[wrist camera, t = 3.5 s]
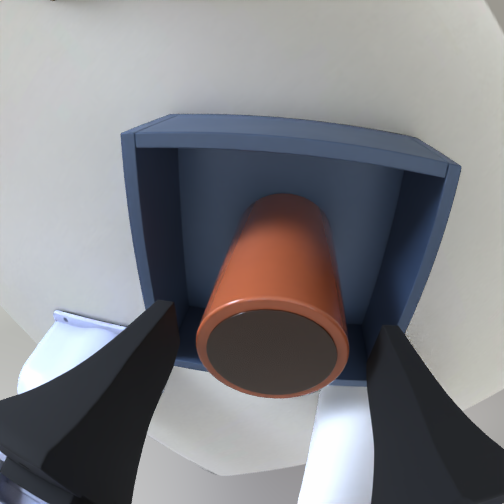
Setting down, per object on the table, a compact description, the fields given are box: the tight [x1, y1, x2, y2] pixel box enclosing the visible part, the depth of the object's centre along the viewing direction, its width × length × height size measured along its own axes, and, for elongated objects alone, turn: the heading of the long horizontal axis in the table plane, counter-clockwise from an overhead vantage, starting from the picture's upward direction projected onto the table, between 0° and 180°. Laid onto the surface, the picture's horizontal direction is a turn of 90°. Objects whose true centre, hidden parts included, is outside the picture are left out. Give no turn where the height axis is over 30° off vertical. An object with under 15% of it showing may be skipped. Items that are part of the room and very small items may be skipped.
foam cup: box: [297, 385, 374, 504], centre depth 18 cm, size 10×9×13 cm
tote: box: [121, 114, 461, 387], centre depth 15 cm, size 12×12×5 cm
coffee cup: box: [196, 193, 350, 398], centre depth 13 cm, size 5×5×8 cm
